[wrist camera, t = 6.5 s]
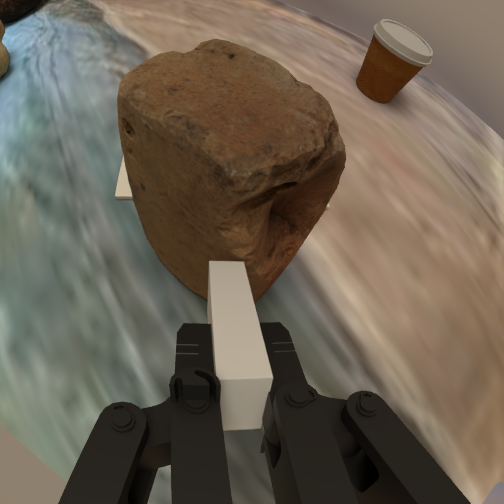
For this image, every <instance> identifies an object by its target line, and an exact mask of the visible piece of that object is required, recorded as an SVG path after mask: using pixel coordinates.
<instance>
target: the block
mask: <svg viewBox="0 0 504 504" xmlns="http://www.w3.org/2000/svg"><path fill="white" fill-rule="evenodd" d="M117 107H118V125H119V132H120V139H121V146H122V151H123V155H124V162H125V168H126V172H127V176H128V182H129V185H130V189H131V192H132V197H133V201H134V204H135V207H136V209H137V212H138V215H139V219H140V221H141V224H142V227H143V230H144V232H145V235H146V237H147V240H148V241H149V243H150V245H151V246H152V248H153V249H154V251H155V252H156V254H157V256H158V258H159V259H160V261H161V262H162V263H163V264H164V265H165V267H166V268H167V269H168V270H169V271H170V272H171V273H172V274H173V275H174V276H175V277H176V278H177V279H179V280H180V281H181V282H182V283H183V284H184V285H185V286H187V287H188V288H189V289H190V290H192V291H193V292H195V293H197V294H199V295H200V296H202V297H203V298H205V299H206V300H208V277H209V261H237V262H244V265H245V269H246V273H247V277H248V281H249V285H250V289H251V293H252V297H253V301H254V303H255V302H256V301H257V300H258V299H259V298H260V297H261V296H262V295H263V294H264V293H265V292H266V291H267V290H268V289H269V288H270V287H271V285H272V284H273V283H274V282H275V281H276V280H277V278H278V277H279V276H280V275H281V273H282V272H283V271H284V269H285V268H286V267H287V265H288V264H289V263H290V261H291V260H292V259H293V257H294V256H295V254H296V253H297V251H298V250H299V248H300V247H301V245H302V244H303V242H304V241H305V239H306V238H307V236H308V235H309V233H310V232H311V230H312V229H313V227H314V226H315V224H316V223H317V222H318V220H319V218H320V217H321V215H322V214H323V212H324V211H325V209H326V207H327V205H328V203H329V201H330V199H331V197H332V195H333V194H334V192H335V190H336V189H337V186H338V184H339V180H340V176H341V174H342V172H343V170H344V168H345V161H346V152H345V145H344V143H343V140H342V138H341V136H340V134H339V127H338V123H337V121H336V119H335V117H334V114H333V112H332V109H331V106H330V104H329V102H328V101H327V100H326V99H325V98H324V97H323V96H322V95H321V94H320V93H318V92H316V91H314V89H313V88H312V87H311V86H310V85H307V84H305V83H302V82H299V81H297V80H296V78H295V77H294V76H293V75H292V74H291V73H290V72H289V71H288V70H287V69H285V68H284V67H283V66H281V65H280V64H279V63H277V62H276V61H274V60H272V59H270V58H268V57H265V56H263V55H261V54H259V53H256V52H254V51H252V50H250V49H248V48H246V47H243V46H240V45H238V44H235V43H232V42H229V41H225V40H219V39H213V40H209V41H205V42H201V43H200V44H199V45H198V46H197V47H196V48H195V49H194V50H192V51H190V52H187V53H184V54H183V53H179V52H175V51H171V52H166V53H161V54H158V55H156V56H154V57H152V58H150V59H148V60H146V61H145V62H143V63H142V64H140V65H139V66H137V67H136V68H134V69H133V70H131V71H130V72H128V73H127V74H126V75H125V76H124V78H123V79H122V81H121V82H120V86H119V91H118V97H117Z"/></svg>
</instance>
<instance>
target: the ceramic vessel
mask: <svg viewBox="0 0 504 504" xmlns="http://www.w3.org/2000/svg"><path fill="white" fill-rule="evenodd" d="M4 33H5V27H4V25H3V23H2V22H1V20H0V77H2V76H3V75H4V74H5V73H6V71H7V69H8V65H9V62H10V56H9V53H8V51H7V49H6V47H5V46H4V45H3V44H2V38H3V36H4Z"/></svg>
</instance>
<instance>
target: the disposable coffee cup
mask: <svg viewBox="0 0 504 504" xmlns="http://www.w3.org/2000/svg"><path fill="white" fill-rule="evenodd" d="M432 55H433V51H432V49H431V47H430V46H429V45H428V44H427V42H426V41H425V40H424V39H423V38H421V37H420V36H419V35H418V34H417V33H415V32H414V31H412V30H411V29H409V28H408V27H406V26H404V25H402V24H400V23H398V22H395V21H392V20H388V19H383V20H381V21H380V22H379V23H377V24H375V25H374V35H373V38H372V40H371V43H370V46H369V48H368V51H367V54H366V56H365V59H364V62H363V64H362V67H361V70H360V72H359V75H358V77H357V80H356V83H357V86H358V88H359V89H360V90H361V91H362V92H363V93H364V94H365V95H366V96H368V97H369V98H371V99H372V100H374V101H377V102H380V103H387V102H389V101H390V100H391V99H392V98H393V97H394V96H395V95H396V94H397V93H398V92H399V91H400V90H401V89H402V88H403V87H404V86H405V85H406V84H407V83H408V82H409V81H410V80H411V79H412V78H413V77H414V76H415V75H416V74H417V73H418V72H419V71H420V70H421V69H422V68H423V67H425V66H427V65H429V64H430V63H431V62H432V60H431V58H432Z"/></svg>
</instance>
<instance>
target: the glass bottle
mask: <svg viewBox="0 0 504 504" xmlns="http://www.w3.org/2000/svg"><path fill="white" fill-rule="evenodd" d="M40 1H41V0H0V20H1V22H2V23H6V22H9V21H12V20H15V19H17V18H19V17H21V16H22V15H24V14H26V13H27V12H29V11H30V10H31V9H33V8H34V7H35V6H36V5H37V4H38V3H39V2H40Z"/></svg>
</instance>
